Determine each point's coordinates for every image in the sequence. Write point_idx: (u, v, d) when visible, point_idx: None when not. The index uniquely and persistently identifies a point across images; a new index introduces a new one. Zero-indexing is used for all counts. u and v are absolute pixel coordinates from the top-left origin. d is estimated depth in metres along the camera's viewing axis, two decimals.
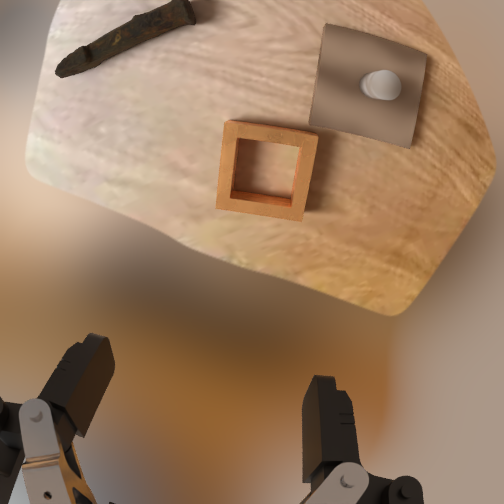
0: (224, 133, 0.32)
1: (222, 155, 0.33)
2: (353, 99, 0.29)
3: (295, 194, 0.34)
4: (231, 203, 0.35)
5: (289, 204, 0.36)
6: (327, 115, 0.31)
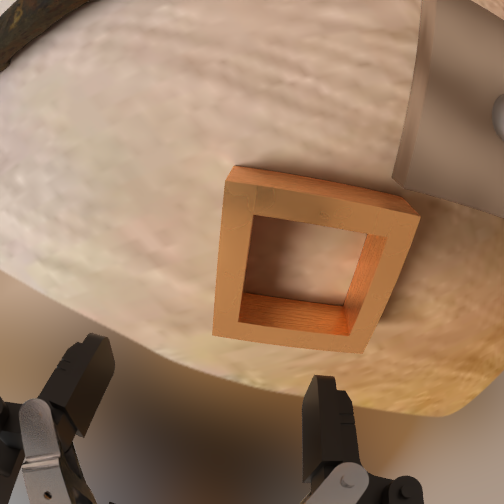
0: (225, 205, 0.15)
1: (221, 249, 0.16)
2: (481, 142, 0.13)
3: (360, 317, 0.18)
4: (241, 329, 0.19)
5: (344, 325, 0.19)
6: (437, 170, 0.14)
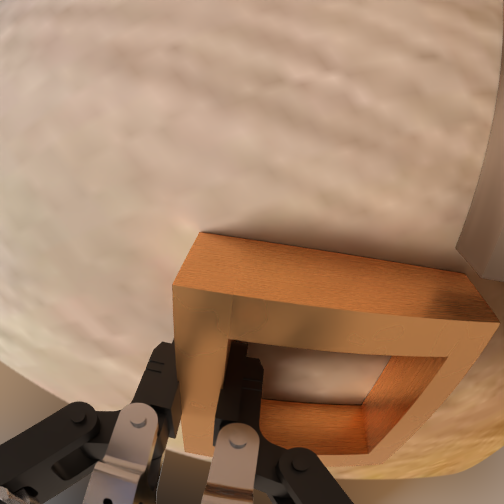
0: (178, 322, 0.08)
1: (181, 377, 0.09)
2: None
3: (386, 438, 0.11)
4: None
5: (362, 437, 0.12)
6: None
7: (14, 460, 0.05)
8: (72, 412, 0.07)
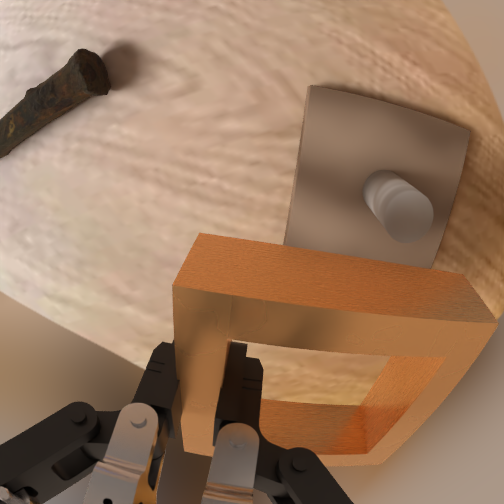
0: (178, 322, 0.08)
1: (180, 377, 0.09)
2: (352, 215, 0.21)
3: (385, 438, 0.11)
4: None
5: (361, 437, 0.12)
6: (310, 241, 0.22)
7: (14, 460, 0.05)
8: (72, 412, 0.07)
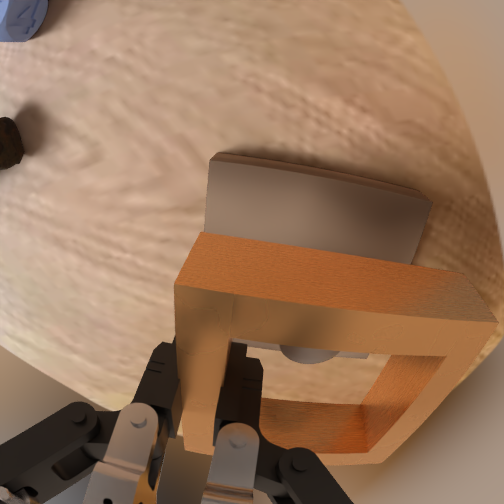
0: (179, 321, 0.08)
1: (182, 375, 0.09)
2: None
3: (385, 437, 0.11)
4: None
5: (361, 436, 0.12)
6: None
7: (14, 460, 0.05)
8: (72, 412, 0.07)
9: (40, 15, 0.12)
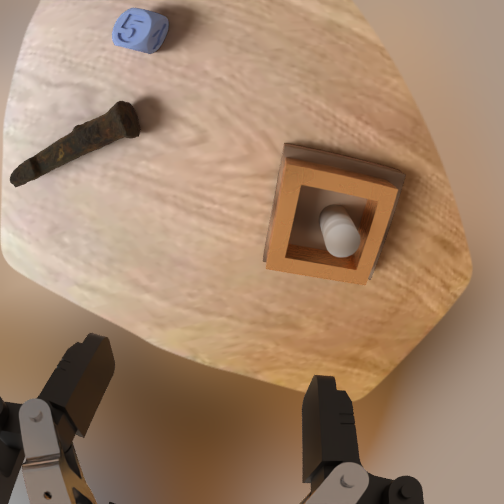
0: (285, 178, 0.25)
1: (280, 205, 0.26)
2: (311, 235, 0.31)
3: (363, 255, 0.28)
4: (286, 263, 0.29)
5: (352, 264, 0.30)
6: None
7: None
8: None
9: (163, 37, 0.24)
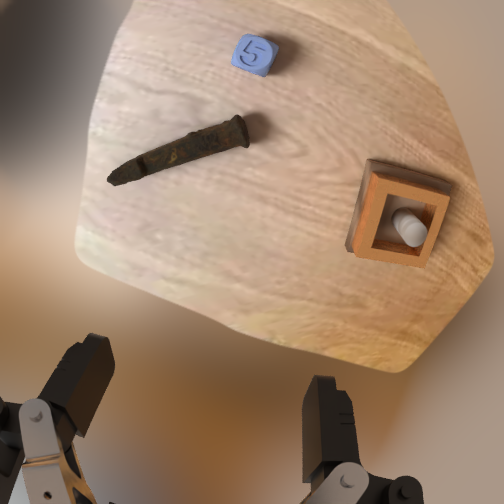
0: (377, 188, 0.32)
1: (371, 208, 0.33)
2: (385, 230, 0.38)
3: (424, 245, 0.35)
4: (371, 252, 0.36)
5: (415, 252, 0.36)
6: None
7: None
8: None
9: (272, 63, 0.30)
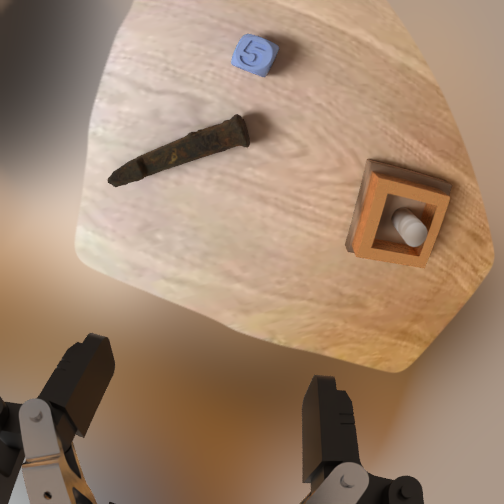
0: (377, 188, 0.32)
1: (372, 208, 0.33)
2: (385, 230, 0.38)
3: (424, 245, 0.35)
4: (371, 252, 0.36)
5: (415, 252, 0.36)
6: None
7: None
8: None
9: (272, 63, 0.30)
